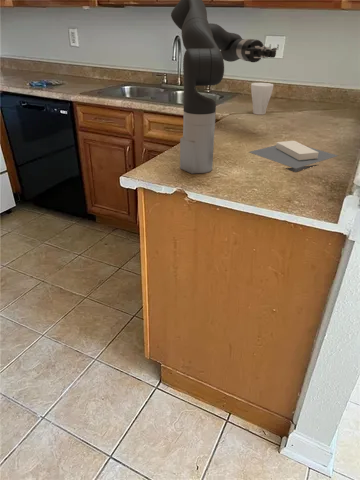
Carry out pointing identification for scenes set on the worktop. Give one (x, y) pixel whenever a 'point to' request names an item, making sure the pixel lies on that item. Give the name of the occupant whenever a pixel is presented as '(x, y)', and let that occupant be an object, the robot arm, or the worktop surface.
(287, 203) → the worktop surface
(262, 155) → the mat
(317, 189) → the worktop surface
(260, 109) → the cup
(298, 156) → the tile
